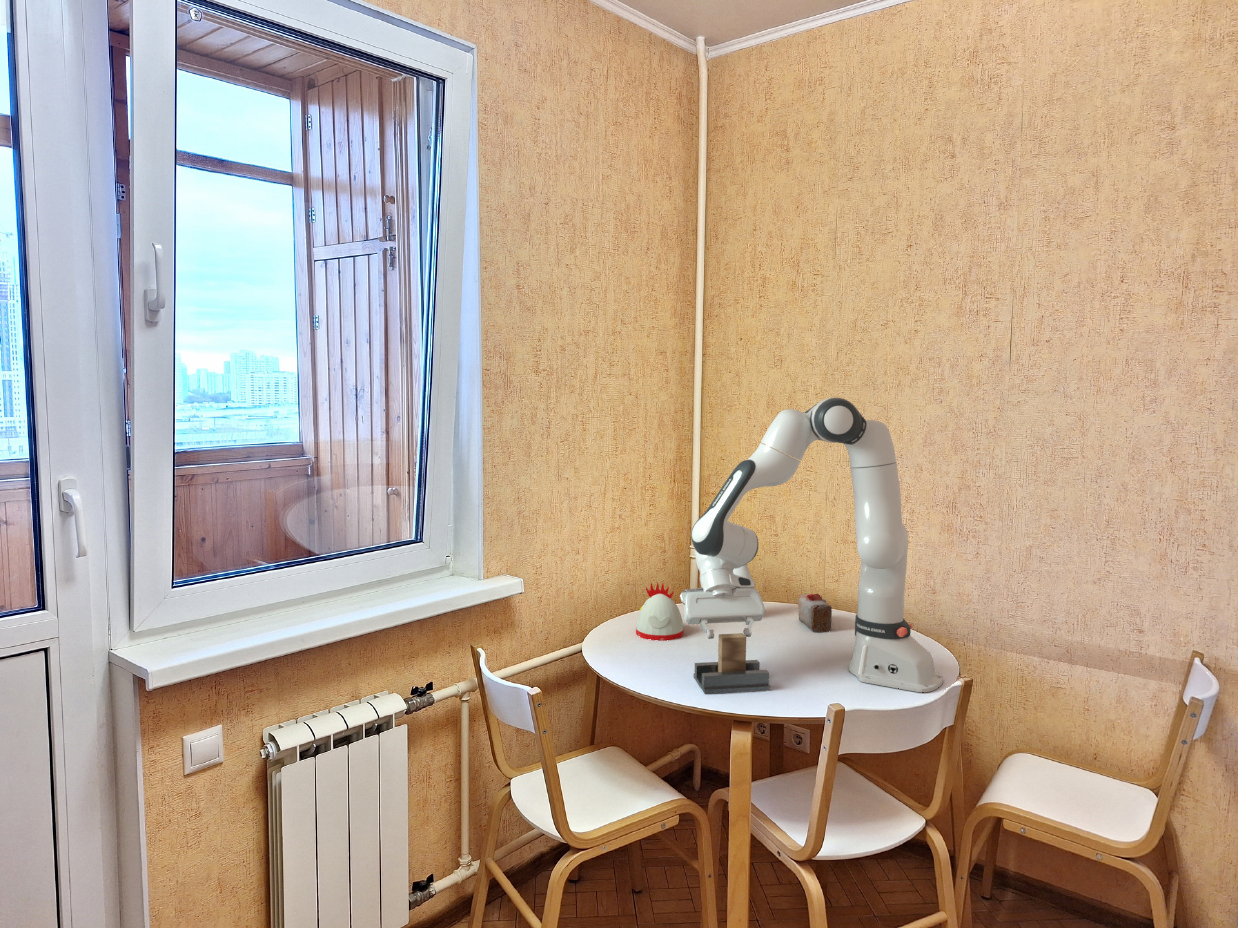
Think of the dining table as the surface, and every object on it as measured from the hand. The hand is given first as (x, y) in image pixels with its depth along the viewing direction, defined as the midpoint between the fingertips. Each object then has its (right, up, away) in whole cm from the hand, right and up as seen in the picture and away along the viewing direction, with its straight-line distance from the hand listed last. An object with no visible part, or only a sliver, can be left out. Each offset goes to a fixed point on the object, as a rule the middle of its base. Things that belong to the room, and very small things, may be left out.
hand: (729, 636), depth 196 cm
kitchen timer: (-15, -7, +38) cm, 42 cm away
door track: (0, -11, -1) cm, 11 cm away
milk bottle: (+10, -6, +54) cm, 56 cm away
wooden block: (0, -10, -1) cm, 10 cm away
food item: (+32, -7, +46) cm, 56 cm away
